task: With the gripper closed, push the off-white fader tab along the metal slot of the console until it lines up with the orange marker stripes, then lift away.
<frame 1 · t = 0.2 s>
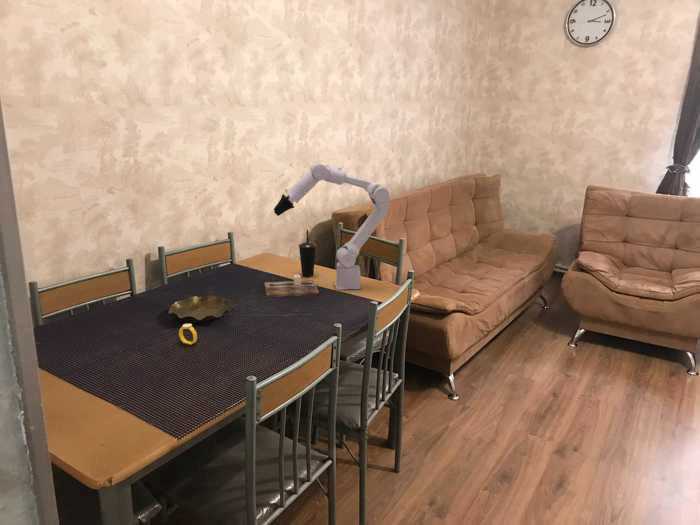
hand: (275, 212, 209), 31 cm above the table, tool tilted 45°, fingers open, 7 cm apart
gold ring: (188, 343, 167), on the table
drinking cup: (307, 276, 237), on the table
console: (291, 289, 219), on the table
fader tab: (297, 281, 218), point 3 cm above the table, slide at -2.5 cm
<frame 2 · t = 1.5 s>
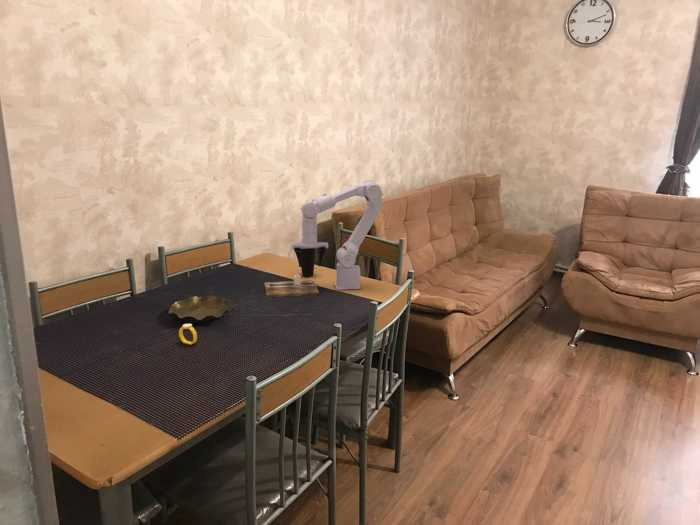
hand: (309, 266, 218), 9 cm above the table, tool pointing down, fingers open, 7 cm apart
nothing on the table moved.
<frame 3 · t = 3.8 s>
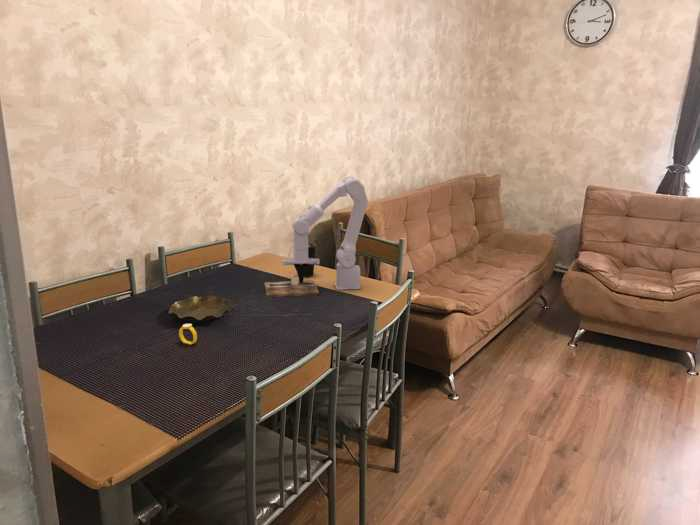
hand: (301, 282, 219), 3 cm above the table, tool pointing down, fingers closed
fader tab: (294, 281, 218), point 3 cm above the table, slide at -1.4 cm, touching gripper
everything else where it was.
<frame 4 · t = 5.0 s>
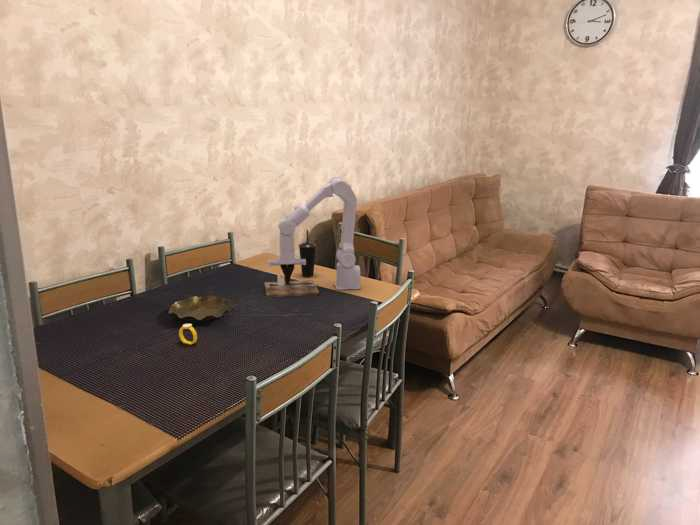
hand: (287, 282, 218), 3 cm above the table, tool pointing down, fingers closed
fader tab: (280, 281, 217), point 3 cm above the table, slide at 4.0 cm, touching gripper
everything else where it was.
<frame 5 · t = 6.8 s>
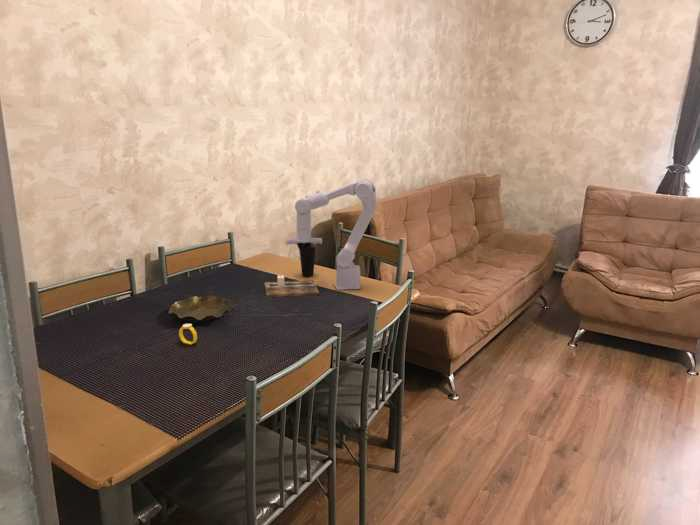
hand: (304, 261, 223), 10 cm above the table, tool pointing down, fingers closed
fader tab: (280, 281, 217), point 3 cm above the table, slide at 4.0 cm
everything else where it was.
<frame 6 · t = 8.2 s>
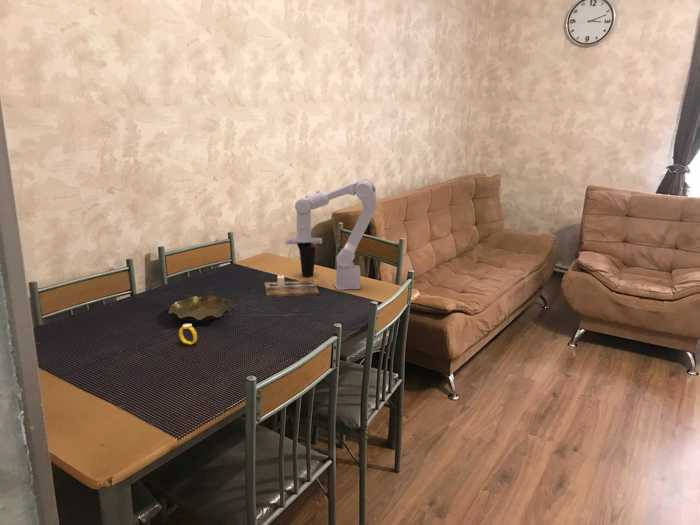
hand: (304, 261, 223), 10 cm above the table, tool pointing down, fingers closed
nothing on the table moved.
at the end: fader tab slide at 4.0 cm; fader tab moved 6.5 cm from its start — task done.
